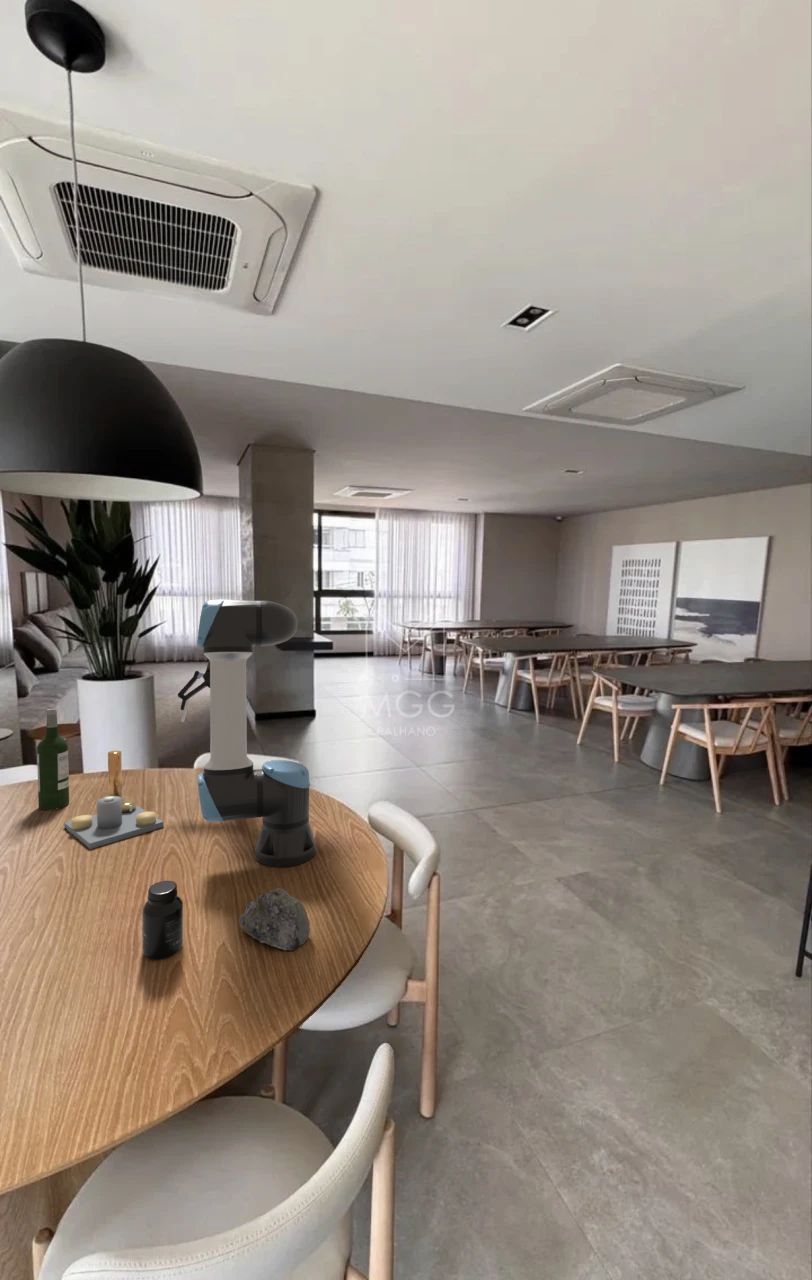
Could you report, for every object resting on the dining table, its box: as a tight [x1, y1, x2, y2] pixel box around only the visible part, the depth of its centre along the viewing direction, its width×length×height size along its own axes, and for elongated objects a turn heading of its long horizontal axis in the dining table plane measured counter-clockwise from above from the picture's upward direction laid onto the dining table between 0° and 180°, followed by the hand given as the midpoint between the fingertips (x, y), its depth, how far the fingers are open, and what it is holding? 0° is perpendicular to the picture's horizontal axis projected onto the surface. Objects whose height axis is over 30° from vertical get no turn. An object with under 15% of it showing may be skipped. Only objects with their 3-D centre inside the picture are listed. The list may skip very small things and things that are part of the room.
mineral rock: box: [239, 887, 311, 951], centre depth 105 cm, size 13×11×10 cm
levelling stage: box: [63, 796, 165, 850], centre depth 152 cm, size 19×19×9 cm
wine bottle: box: [36, 708, 70, 810], centre depth 166 cm, size 8×8×30 cm
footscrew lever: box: [107, 750, 137, 812], centre depth 162 cm, size 13×5×16 cm, turn 49°
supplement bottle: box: [141, 880, 184, 961], centre depth 100 cm, size 7×7×12 cm
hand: (204, 725), depth 173 cm, fingers open, 13 cm apart
